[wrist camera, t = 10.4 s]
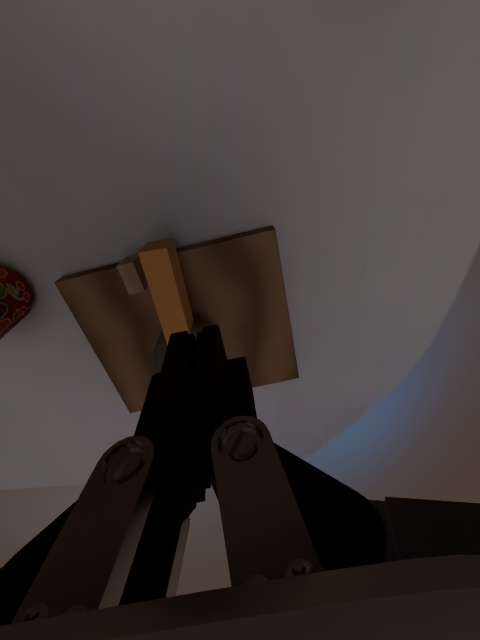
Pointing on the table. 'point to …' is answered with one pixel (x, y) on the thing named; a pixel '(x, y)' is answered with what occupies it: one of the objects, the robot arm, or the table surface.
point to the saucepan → (167, 294)
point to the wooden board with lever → (206, 305)
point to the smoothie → (13, 299)
